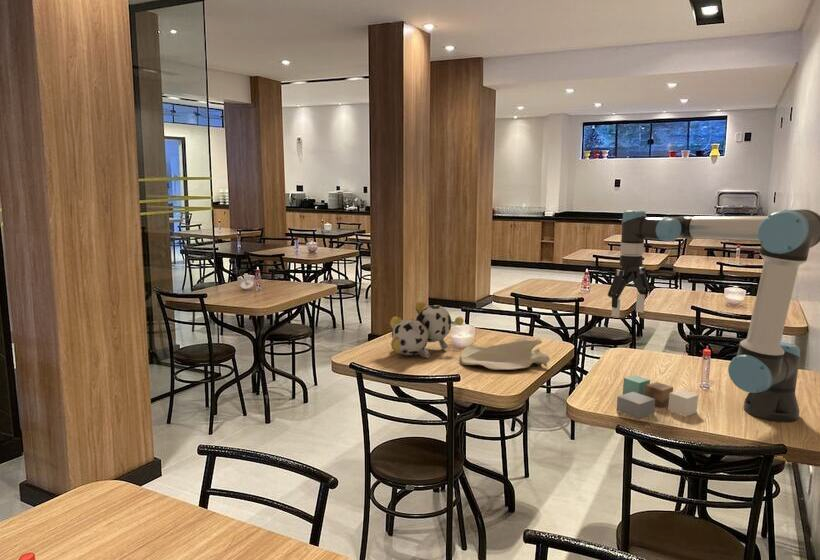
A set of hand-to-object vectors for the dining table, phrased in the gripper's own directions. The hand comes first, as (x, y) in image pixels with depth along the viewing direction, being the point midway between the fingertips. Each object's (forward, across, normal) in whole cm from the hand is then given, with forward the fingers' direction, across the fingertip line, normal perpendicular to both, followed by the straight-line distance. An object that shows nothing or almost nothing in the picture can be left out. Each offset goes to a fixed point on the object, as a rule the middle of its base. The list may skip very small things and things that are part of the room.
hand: (627, 314), depth 214 cm
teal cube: (+26, +8, +11) cm, 29 cm away
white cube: (+26, +7, +28) cm, 39 cm away
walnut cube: (+26, +8, +19) cm, 33 cm away
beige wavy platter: (+25, +23, -40) cm, 53 cm away
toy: (+25, +41, -70) cm, 85 cm away
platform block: (+26, +20, +20) cm, 38 cm away
